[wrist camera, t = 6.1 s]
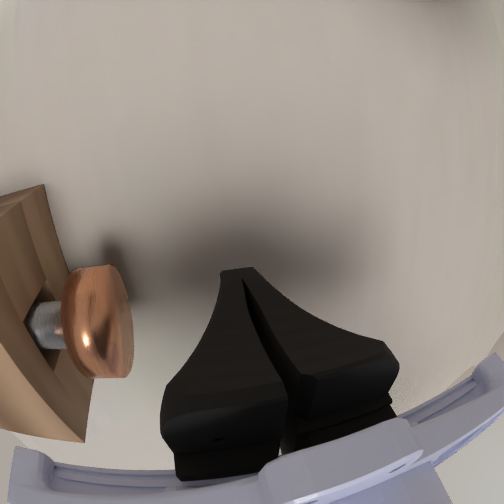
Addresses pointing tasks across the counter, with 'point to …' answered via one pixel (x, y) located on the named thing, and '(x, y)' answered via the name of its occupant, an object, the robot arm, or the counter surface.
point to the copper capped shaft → (88, 323)
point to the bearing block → (18, 338)
